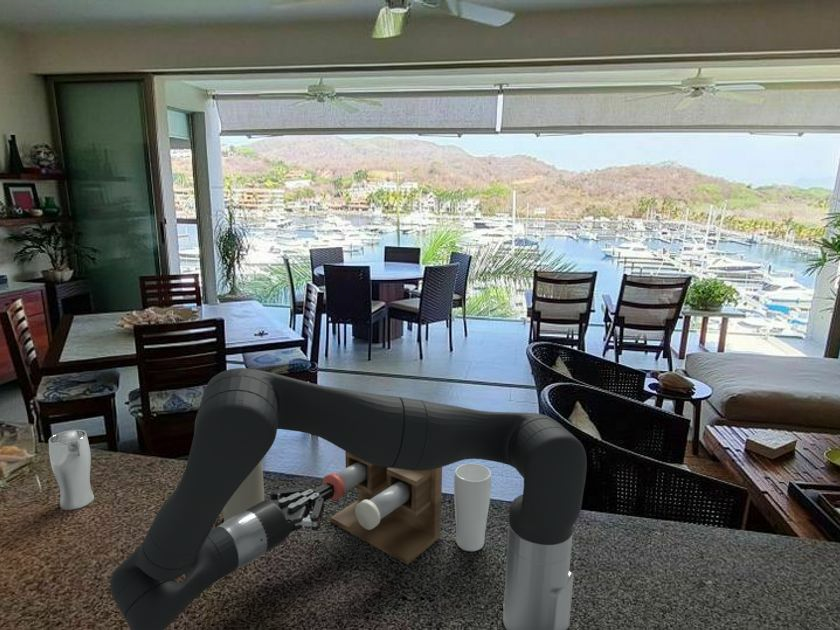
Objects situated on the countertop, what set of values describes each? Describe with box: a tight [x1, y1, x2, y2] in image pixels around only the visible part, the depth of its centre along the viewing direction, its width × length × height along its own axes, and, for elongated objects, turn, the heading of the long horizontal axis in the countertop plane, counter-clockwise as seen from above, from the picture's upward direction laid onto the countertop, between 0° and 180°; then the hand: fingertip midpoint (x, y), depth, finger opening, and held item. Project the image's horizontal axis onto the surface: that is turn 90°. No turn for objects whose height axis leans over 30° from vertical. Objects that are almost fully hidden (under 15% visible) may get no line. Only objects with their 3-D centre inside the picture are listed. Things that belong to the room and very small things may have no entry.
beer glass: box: [48, 429, 95, 511], centre depth 110 cm, size 7×7×15 cm
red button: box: [321, 461, 368, 501], centre depth 102 cm, size 5×10×5 cm, turn 142°
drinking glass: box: [453, 463, 492, 552], centre depth 98 cm, size 7×7×15 cm
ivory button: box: [355, 481, 411, 530], centre depth 94 cm, size 5×10×5 cm, turn 142°
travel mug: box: [222, 459, 265, 523], centre depth 105 cm, size 8×8×18 cm
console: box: [330, 450, 443, 565], centre depth 102 cm, size 20×10×18 cm, turn 52°
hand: (331, 488), depth 98 cm, fingers closed
